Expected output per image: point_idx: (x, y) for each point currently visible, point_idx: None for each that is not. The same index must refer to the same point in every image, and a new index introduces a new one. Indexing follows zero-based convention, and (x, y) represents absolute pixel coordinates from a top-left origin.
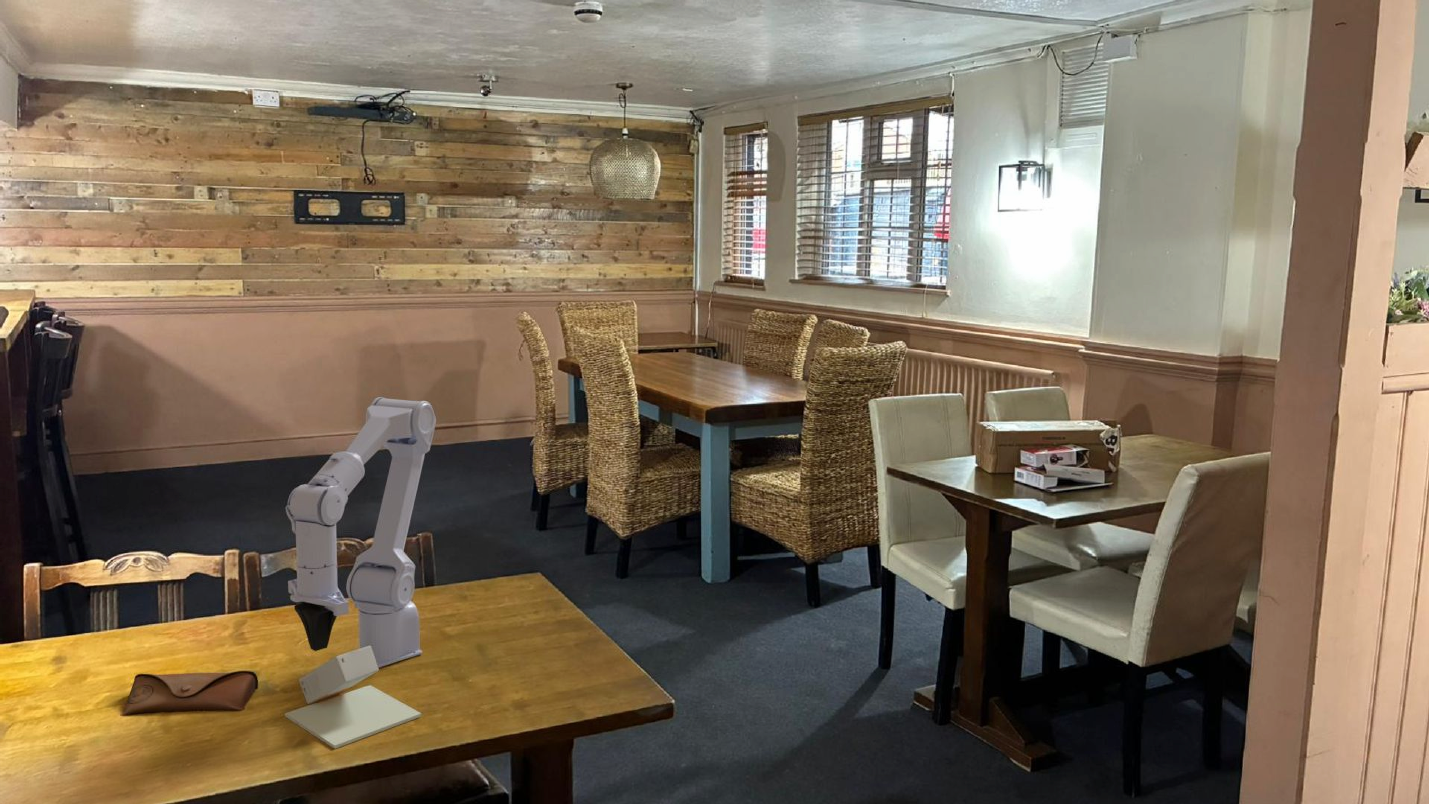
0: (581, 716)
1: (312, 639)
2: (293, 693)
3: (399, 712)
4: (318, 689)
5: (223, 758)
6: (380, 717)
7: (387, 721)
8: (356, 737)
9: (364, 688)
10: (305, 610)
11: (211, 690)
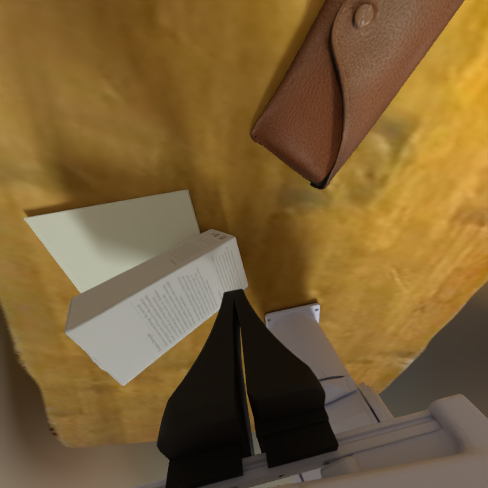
0: (55, 414)
1: (221, 311)
2: (262, 223)
3: None
4: (174, 251)
5: (35, 6)
6: None
7: None
8: (50, 252)
9: None
10: (195, 427)
11: (323, 85)
